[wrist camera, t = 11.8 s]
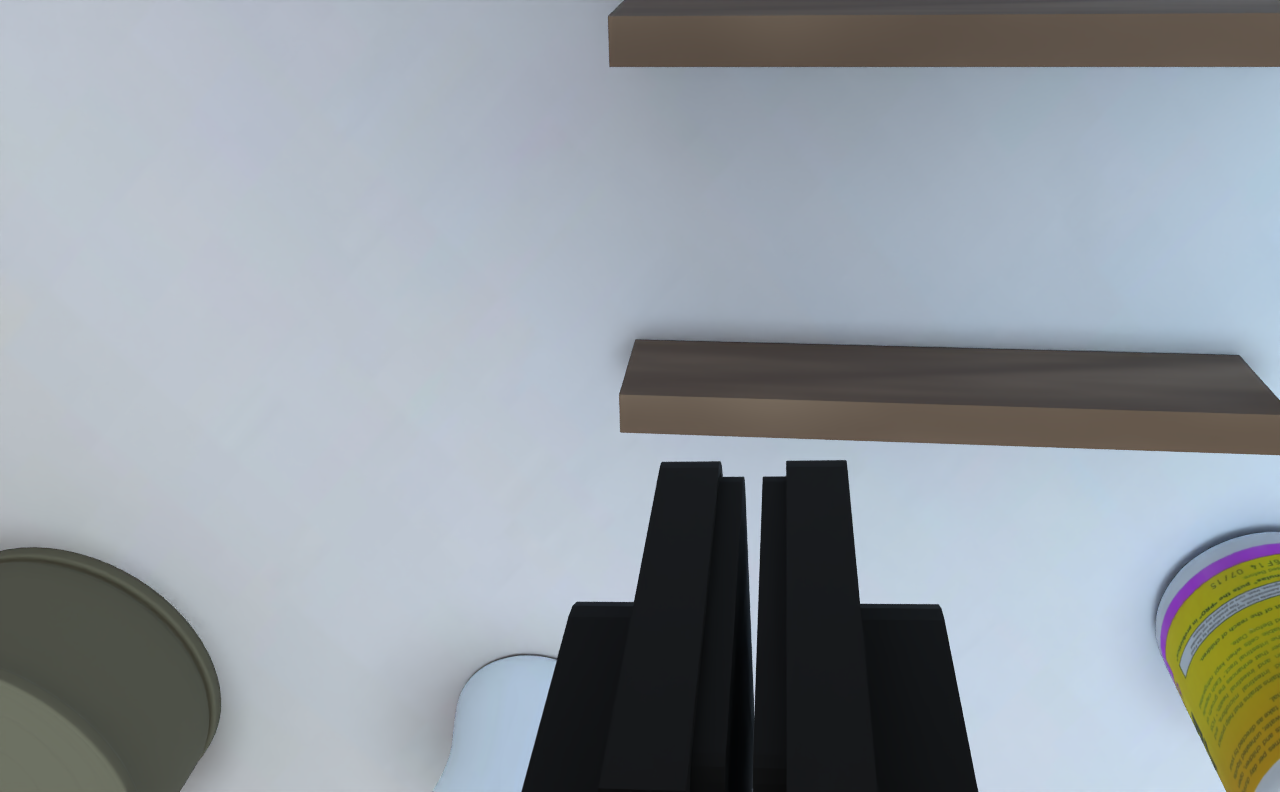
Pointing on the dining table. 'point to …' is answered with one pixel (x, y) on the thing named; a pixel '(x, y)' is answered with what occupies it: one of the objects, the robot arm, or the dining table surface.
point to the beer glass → (497, 725)
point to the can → (97, 680)
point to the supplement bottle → (1229, 656)
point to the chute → (928, 376)
